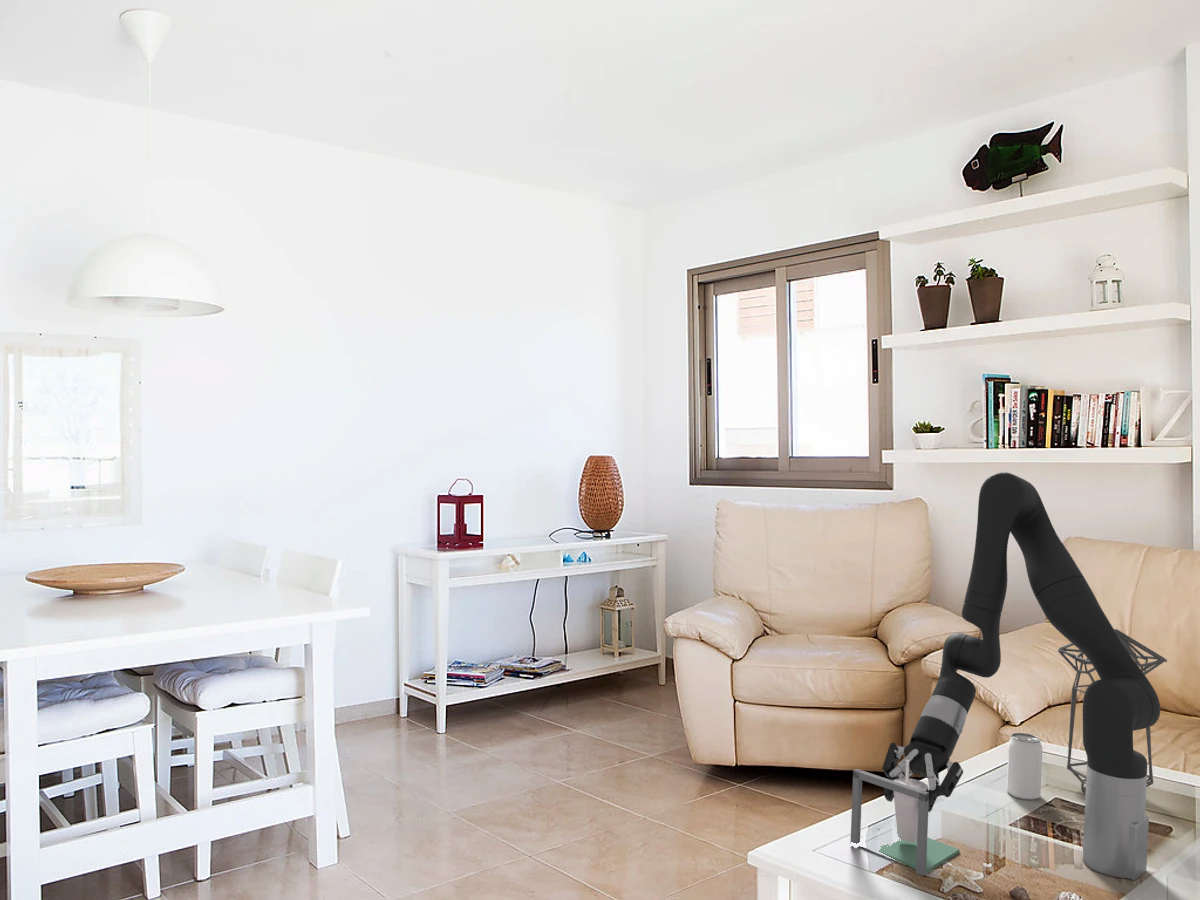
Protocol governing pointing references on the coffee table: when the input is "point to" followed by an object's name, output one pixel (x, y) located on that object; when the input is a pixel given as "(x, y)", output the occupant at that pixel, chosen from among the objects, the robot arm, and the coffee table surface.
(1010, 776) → the can
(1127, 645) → the geometric lantern
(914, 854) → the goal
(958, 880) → the coffee table surface
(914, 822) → the smoothie
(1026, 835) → the coffee table surface
